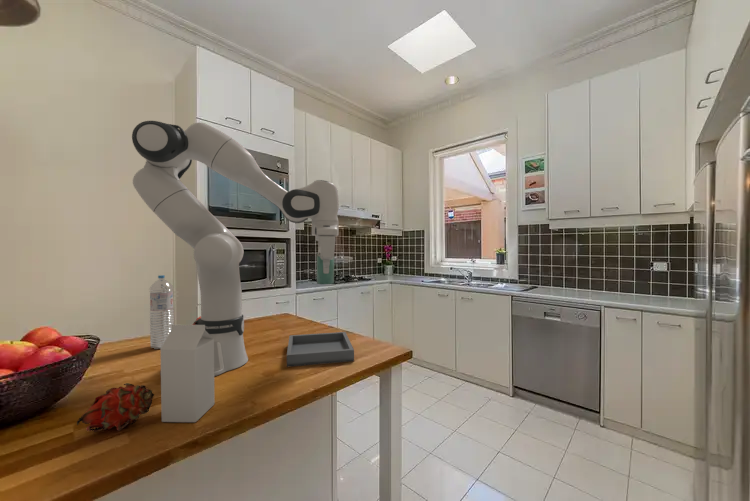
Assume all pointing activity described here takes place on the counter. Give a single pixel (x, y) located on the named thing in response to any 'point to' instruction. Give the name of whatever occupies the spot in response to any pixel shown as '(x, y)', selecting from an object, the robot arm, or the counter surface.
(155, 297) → the water bottle
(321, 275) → the green rounded cylinder
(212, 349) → the milk carton
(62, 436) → the counter surface
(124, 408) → the dragon fruit
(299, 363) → the tray
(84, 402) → the counter surface
